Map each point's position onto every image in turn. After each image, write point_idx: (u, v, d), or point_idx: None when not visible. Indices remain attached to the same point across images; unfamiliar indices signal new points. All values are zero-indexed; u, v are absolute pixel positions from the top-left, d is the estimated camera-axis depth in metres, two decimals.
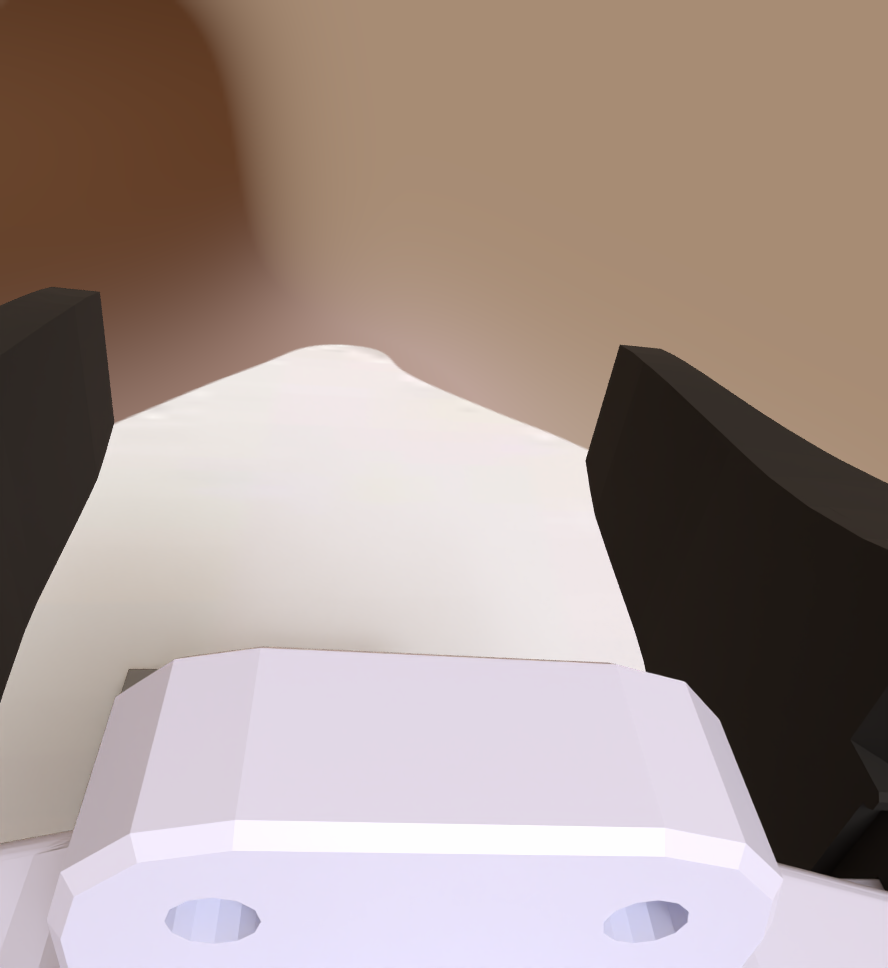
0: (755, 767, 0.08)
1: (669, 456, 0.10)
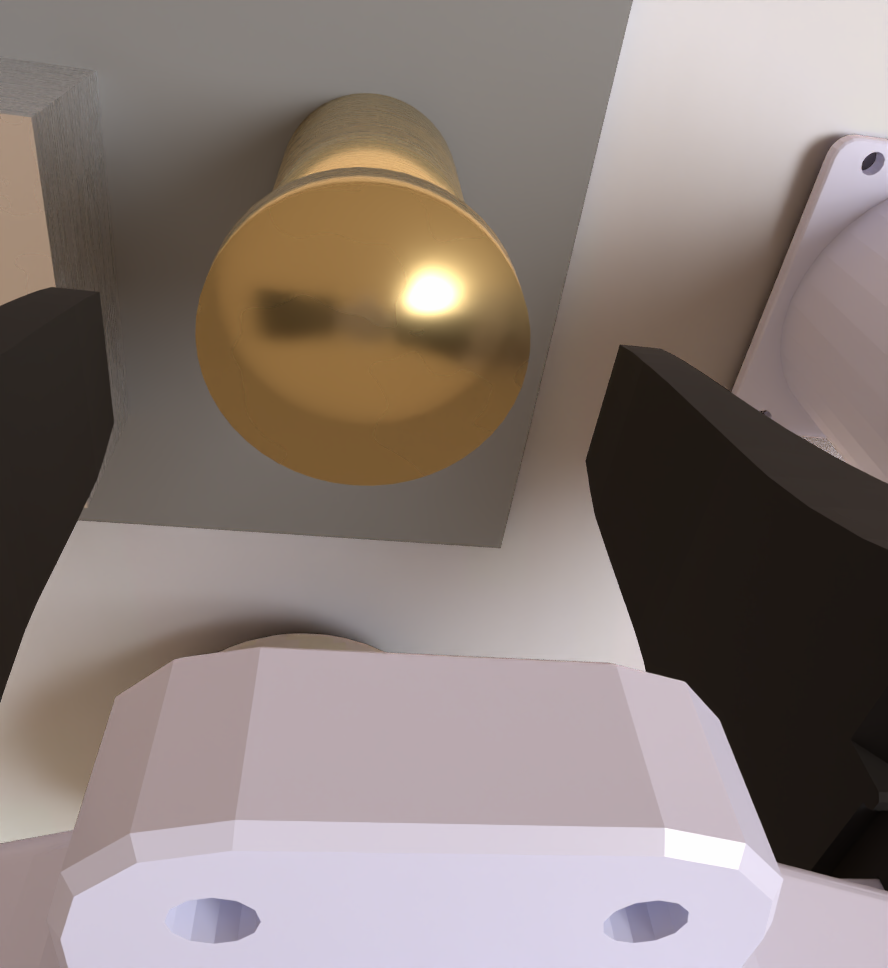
0: (756, 767, 0.08)
1: (669, 456, 0.10)
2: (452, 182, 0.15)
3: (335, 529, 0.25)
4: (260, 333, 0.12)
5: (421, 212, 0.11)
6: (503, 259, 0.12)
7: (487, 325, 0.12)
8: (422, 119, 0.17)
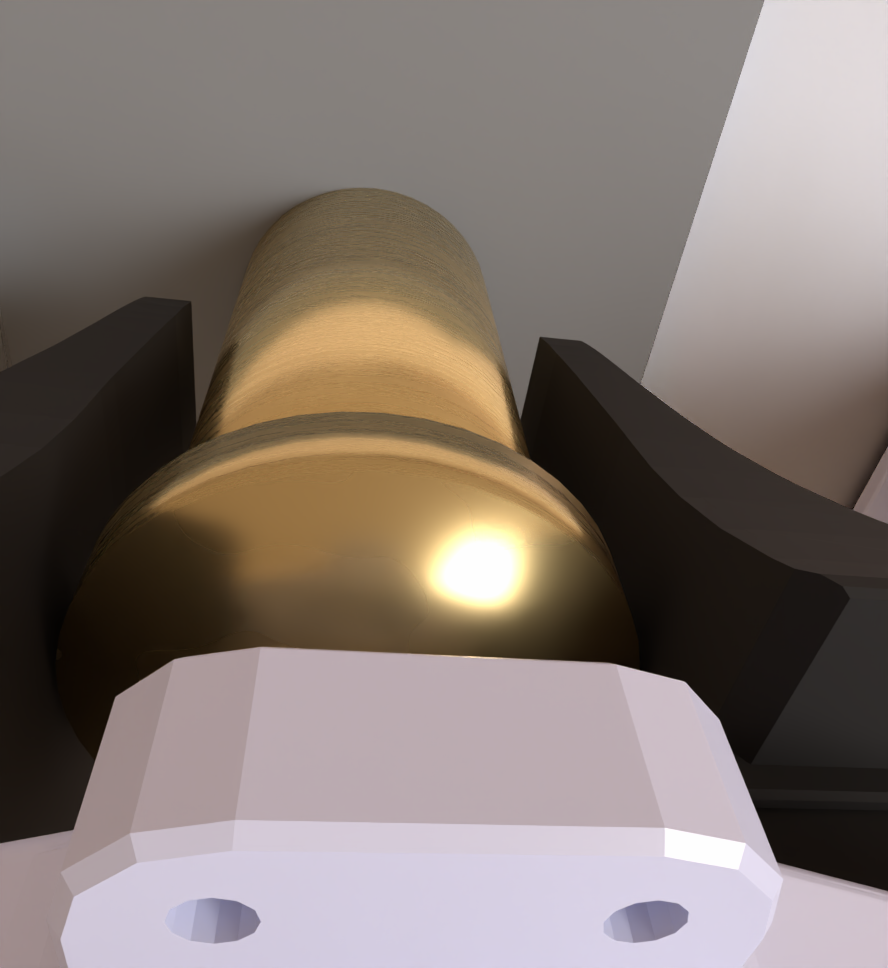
0: None
1: (576, 448, 0.10)
2: (490, 343, 0.10)
3: None
4: None
5: (459, 510, 0.06)
6: (603, 573, 0.07)
7: None
8: (441, 227, 0.12)
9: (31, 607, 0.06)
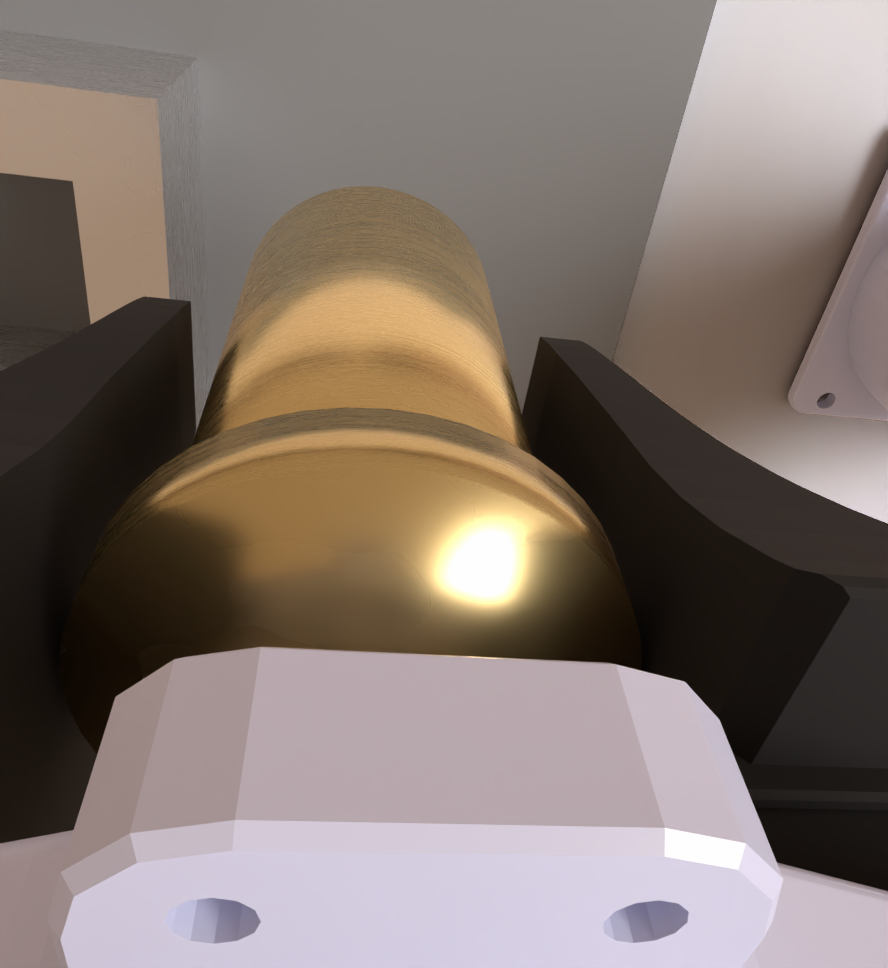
0: None
1: (575, 448, 0.10)
2: (492, 341, 0.10)
3: None
4: None
5: (462, 506, 0.06)
6: (605, 569, 0.07)
7: (569, 657, 0.07)
8: (443, 225, 0.12)
9: (30, 607, 0.06)
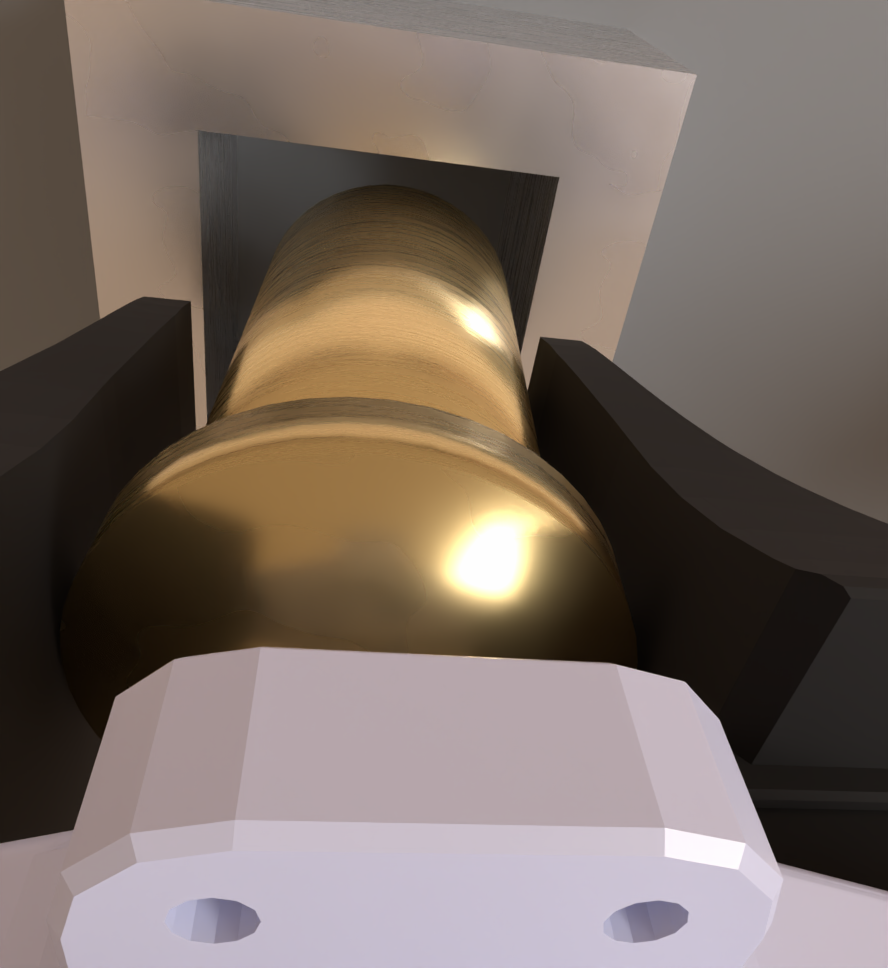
0: None
1: (576, 448, 0.10)
2: (505, 340, 0.10)
3: None
4: (173, 659, 0.07)
5: (458, 497, 0.06)
6: (602, 567, 0.07)
7: (564, 655, 0.07)
8: (463, 225, 0.12)
9: (30, 607, 0.06)
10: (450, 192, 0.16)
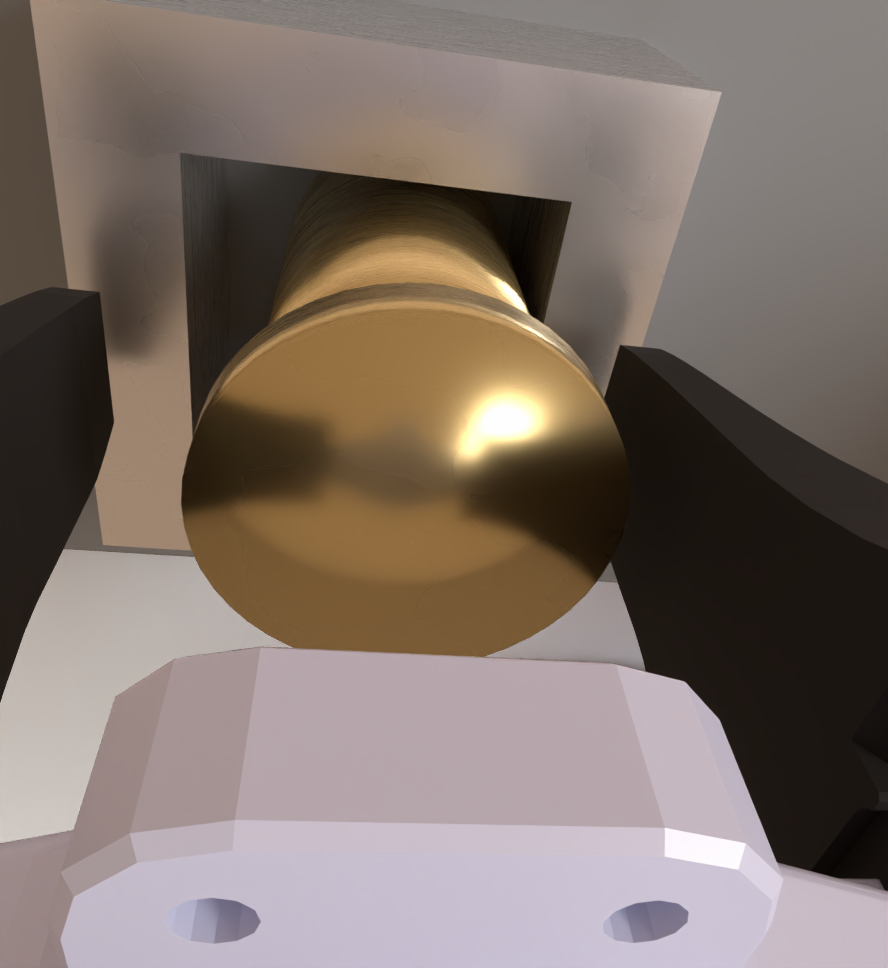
0: (755, 767, 0.08)
1: (669, 456, 0.10)
2: (508, 267, 0.12)
3: None
4: (269, 498, 0.09)
5: (496, 351, 0.08)
6: (603, 409, 0.09)
7: (574, 488, 0.09)
8: None
9: None
10: None
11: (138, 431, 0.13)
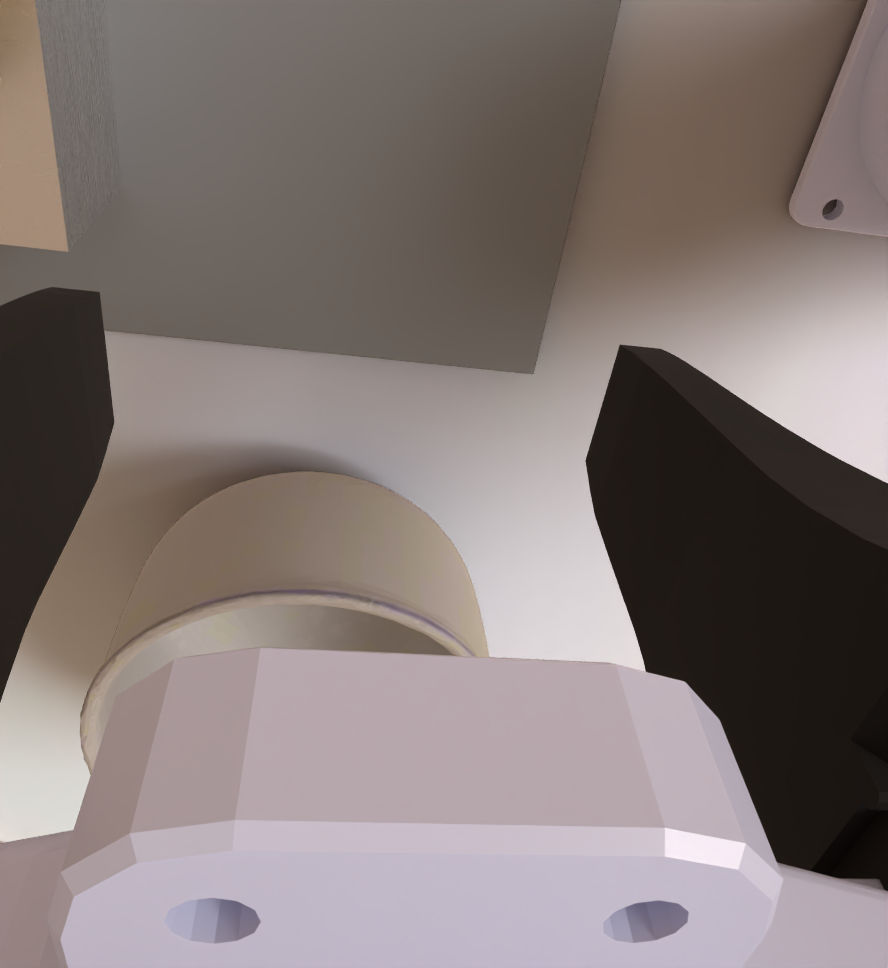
0: (755, 766, 0.08)
1: (669, 456, 0.10)
2: None
3: (350, 345, 0.22)
4: None
5: None
6: None
7: None
8: None
9: None
10: None
11: None
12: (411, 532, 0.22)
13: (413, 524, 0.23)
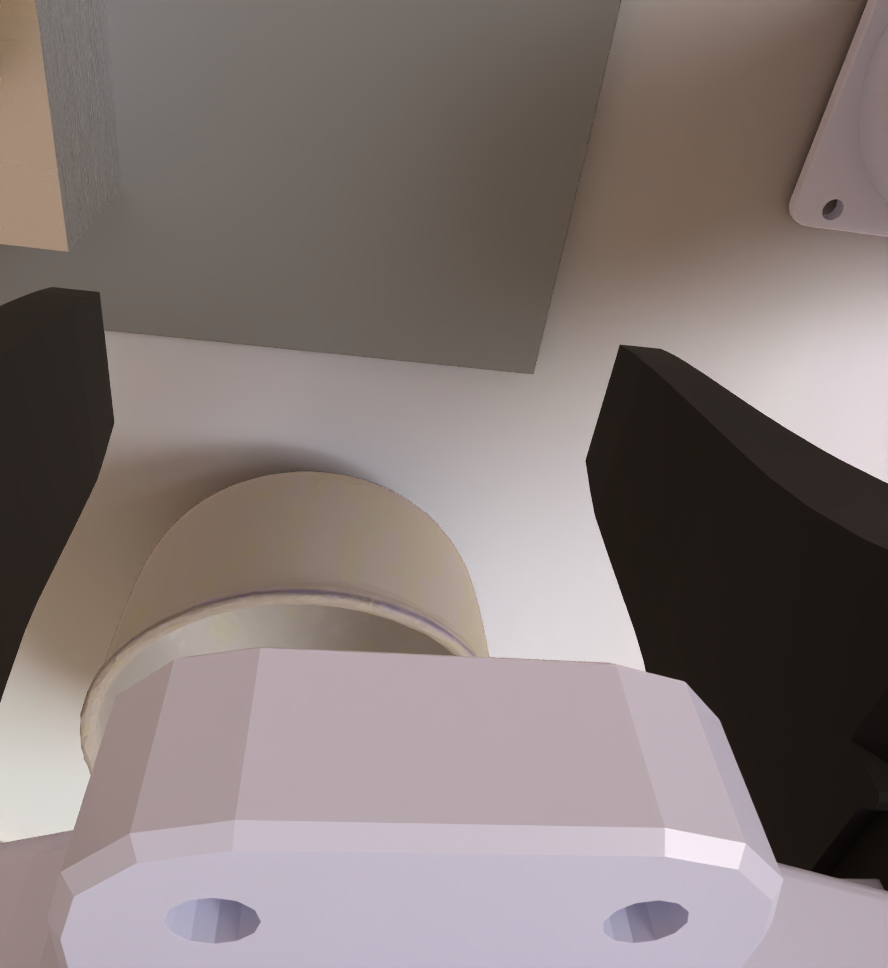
0: (755, 766, 0.08)
1: (669, 456, 0.10)
2: None
3: (350, 345, 0.22)
4: None
5: None
6: None
7: None
8: None
9: None
10: None
11: None
12: (411, 532, 0.22)
13: (413, 524, 0.23)
